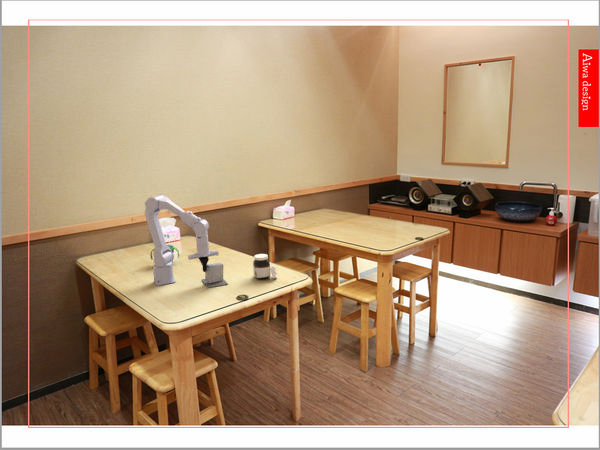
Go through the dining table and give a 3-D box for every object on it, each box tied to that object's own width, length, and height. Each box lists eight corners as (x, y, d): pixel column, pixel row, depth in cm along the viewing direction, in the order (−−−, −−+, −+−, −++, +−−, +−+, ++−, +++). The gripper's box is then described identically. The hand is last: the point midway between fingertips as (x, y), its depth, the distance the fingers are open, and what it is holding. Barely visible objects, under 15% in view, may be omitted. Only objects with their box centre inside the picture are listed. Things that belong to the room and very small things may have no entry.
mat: (208, 288, 214) (208, 287, 214) (201, 280, 225) (201, 279, 225) (228, 284, 218) (228, 283, 218) (220, 276, 230) (220, 275, 229)
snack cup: (181, 260, 259) (180, 244, 257) (177, 266, 249) (176, 249, 246) (154, 262, 258) (152, 245, 256) (149, 267, 248) (147, 250, 246)
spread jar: (252, 275, 230) (250, 254, 227) (272, 272, 234) (271, 251, 231) (259, 283, 219) (258, 260, 216) (280, 279, 223) (279, 257, 220)
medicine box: (218, 278, 225) (218, 262, 224) (223, 280, 222) (223, 264, 221) (205, 281, 220) (205, 264, 218) (209, 283, 217) (210, 266, 215)
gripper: (189, 248, 209) (192, 276, 212) (219, 244, 215) (221, 271, 218) (186, 245, 215) (188, 272, 218) (215, 241, 221) (217, 267, 224)
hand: (204, 271), depth 218 cm, fingers closed, pressing on medicine box
